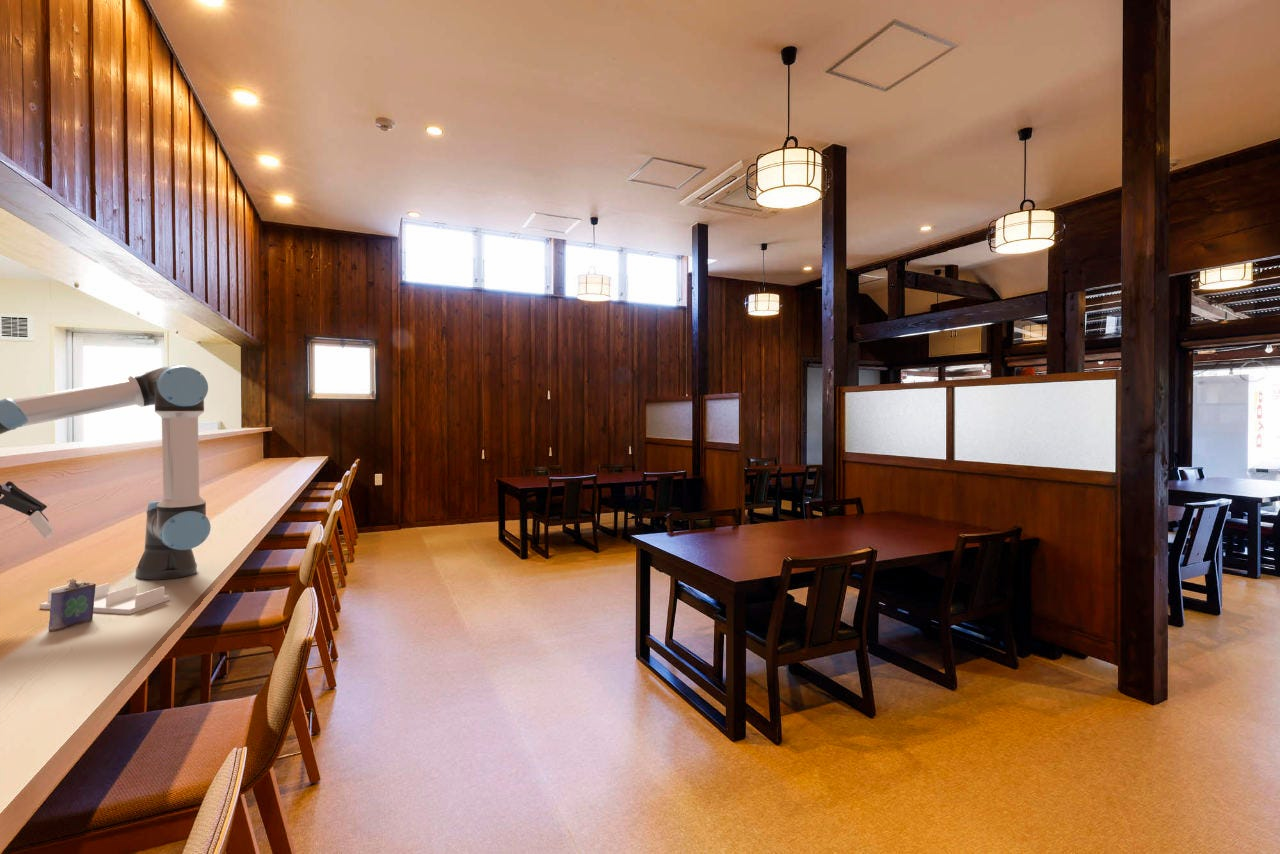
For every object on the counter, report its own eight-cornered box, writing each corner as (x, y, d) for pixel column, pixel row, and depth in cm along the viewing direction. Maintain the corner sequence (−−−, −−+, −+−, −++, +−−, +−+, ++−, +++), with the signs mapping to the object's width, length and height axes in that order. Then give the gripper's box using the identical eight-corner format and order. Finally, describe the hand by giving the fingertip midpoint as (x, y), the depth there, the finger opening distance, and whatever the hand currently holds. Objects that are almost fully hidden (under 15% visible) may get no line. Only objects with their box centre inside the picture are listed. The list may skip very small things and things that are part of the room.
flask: (54, 632, 138) (57, 585, 138) (43, 630, 139) (46, 583, 139) (96, 620, 147) (99, 575, 148) (85, 618, 148) (88, 574, 148)
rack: (86, 594, 166) (87, 579, 166) (169, 599, 166) (170, 584, 166) (39, 608, 153) (40, 591, 153) (129, 614, 153) (130, 597, 153)
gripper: (7, 477, 157) (60, 540, 157) (-113, 485, 132) (-51, 560, 132) (29, 458, 157) (82, 521, 157) (-87, 463, 132) (-24, 537, 132)
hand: (22, 539), depth 144 cm, fingers open, 13 cm apart
